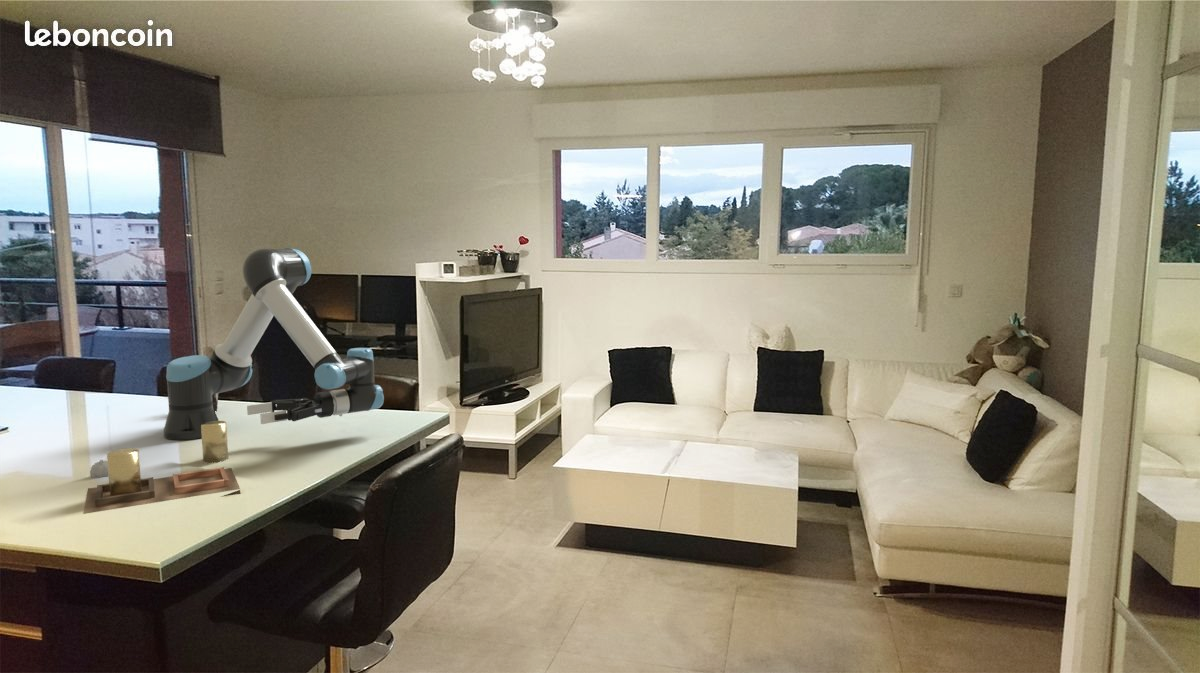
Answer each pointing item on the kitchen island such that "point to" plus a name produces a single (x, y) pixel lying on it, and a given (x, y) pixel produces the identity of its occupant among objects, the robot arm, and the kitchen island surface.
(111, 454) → the cylinder
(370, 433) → the kitchen island surface
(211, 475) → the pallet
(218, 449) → the brass billet
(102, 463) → the garlic
